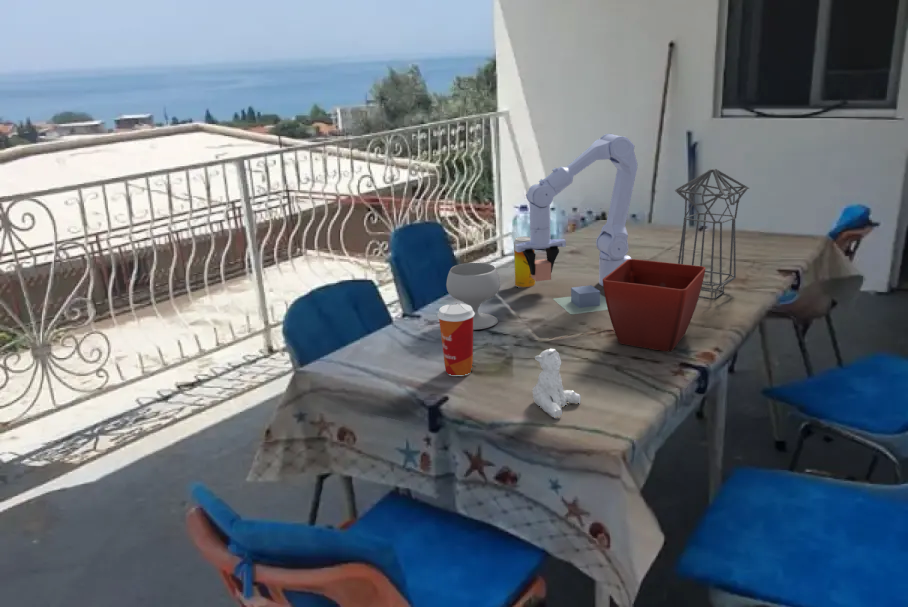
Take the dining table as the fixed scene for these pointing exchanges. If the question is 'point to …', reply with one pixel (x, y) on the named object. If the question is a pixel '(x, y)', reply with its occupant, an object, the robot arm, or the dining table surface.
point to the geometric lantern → (696, 181)
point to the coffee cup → (457, 337)
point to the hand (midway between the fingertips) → (541, 273)
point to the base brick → (585, 296)
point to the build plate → (573, 309)
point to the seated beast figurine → (552, 385)
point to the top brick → (542, 270)
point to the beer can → (522, 266)
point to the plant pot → (652, 302)
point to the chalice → (474, 289)
